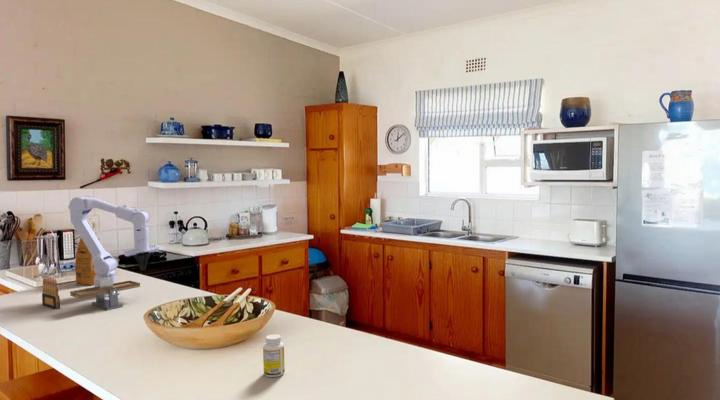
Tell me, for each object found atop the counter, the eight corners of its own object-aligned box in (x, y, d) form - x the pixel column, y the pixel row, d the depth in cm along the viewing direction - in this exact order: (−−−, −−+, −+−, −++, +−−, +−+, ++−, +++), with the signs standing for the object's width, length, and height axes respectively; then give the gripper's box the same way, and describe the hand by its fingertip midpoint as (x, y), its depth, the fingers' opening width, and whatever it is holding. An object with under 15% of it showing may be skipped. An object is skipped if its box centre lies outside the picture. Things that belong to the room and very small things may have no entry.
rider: (95, 289, 207) (94, 279, 207) (107, 286, 211) (107, 277, 211) (100, 290, 205) (100, 280, 204) (113, 288, 209) (112, 278, 208)
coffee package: (90, 279, 256) (88, 235, 255) (108, 281, 251) (106, 236, 250) (71, 284, 247) (69, 238, 246) (89, 286, 242) (87, 239, 241)
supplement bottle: (275, 368, 144) (274, 331, 143) (289, 373, 140) (288, 336, 139) (259, 374, 140) (258, 337, 139) (273, 380, 136) (272, 341, 135)
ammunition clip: (42, 305, 210) (40, 276, 209) (47, 304, 212) (45, 275, 211) (55, 309, 204) (53, 279, 203) (60, 308, 206) (58, 278, 205)
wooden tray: (69, 297, 202) (69, 291, 201) (129, 285, 220) (129, 280, 220) (80, 301, 196) (80, 294, 196) (140, 288, 215) (140, 283, 215)
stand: (91, 304, 210) (90, 286, 210) (106, 301, 215) (105, 283, 214) (107, 310, 202) (106, 291, 202) (122, 306, 207) (121, 288, 206)
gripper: (130, 242, 217) (131, 274, 218) (161, 237, 229) (163, 268, 230) (121, 240, 222) (122, 272, 223) (153, 236, 233) (154, 266, 234)
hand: (142, 270), depth 226 cm, fingers closed
